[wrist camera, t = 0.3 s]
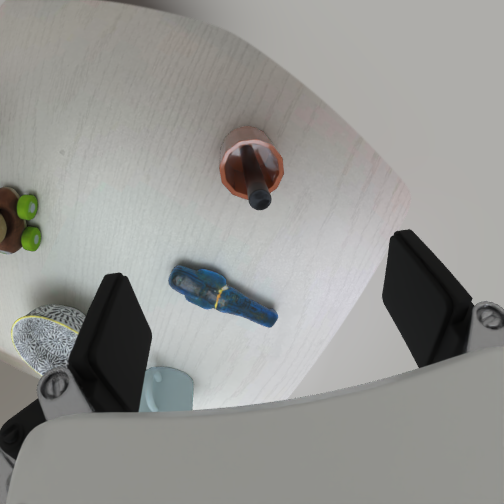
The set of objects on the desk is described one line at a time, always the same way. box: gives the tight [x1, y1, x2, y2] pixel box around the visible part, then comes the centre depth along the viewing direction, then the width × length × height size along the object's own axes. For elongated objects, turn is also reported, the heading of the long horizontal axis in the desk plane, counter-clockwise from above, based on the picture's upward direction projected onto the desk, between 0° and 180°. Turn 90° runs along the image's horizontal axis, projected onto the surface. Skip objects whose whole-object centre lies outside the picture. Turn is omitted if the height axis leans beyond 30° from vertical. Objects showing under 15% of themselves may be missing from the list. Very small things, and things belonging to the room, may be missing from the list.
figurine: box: [168, 265, 278, 328], centre depth 39 cm, size 5×4×15 cm
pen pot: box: [219, 126, 284, 200], centre depth 28 cm, size 5×5×7 cm
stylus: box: [240, 145, 271, 210], centre depth 25 cm, size 2×1×13 cm
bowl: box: [11, 305, 86, 376], centre depth 39 cm, size 16×16×8 cm
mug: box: [139, 367, 193, 412], centre depth 45 cm, size 14×9×10 cm
